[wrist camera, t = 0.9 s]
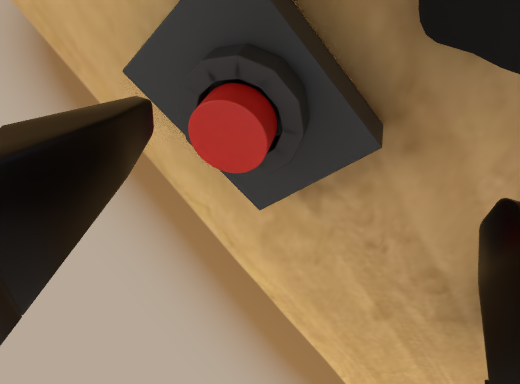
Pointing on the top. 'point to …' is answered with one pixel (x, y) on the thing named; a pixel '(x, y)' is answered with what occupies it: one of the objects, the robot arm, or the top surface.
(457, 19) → the black sponge
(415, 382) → the top surface
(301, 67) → the grey button base
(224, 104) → the power button
